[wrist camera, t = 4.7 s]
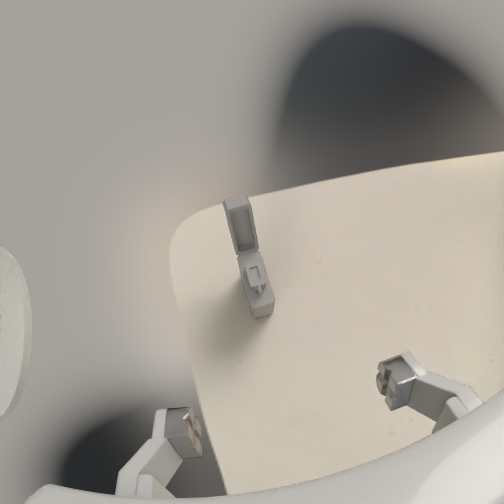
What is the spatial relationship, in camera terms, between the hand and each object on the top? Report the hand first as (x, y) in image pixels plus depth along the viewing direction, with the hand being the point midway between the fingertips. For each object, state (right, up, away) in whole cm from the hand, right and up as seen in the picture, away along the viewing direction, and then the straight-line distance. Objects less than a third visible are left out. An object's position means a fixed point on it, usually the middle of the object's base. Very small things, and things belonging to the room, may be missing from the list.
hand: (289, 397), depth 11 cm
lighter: (-1, +4, +15) cm, 15 cm away
